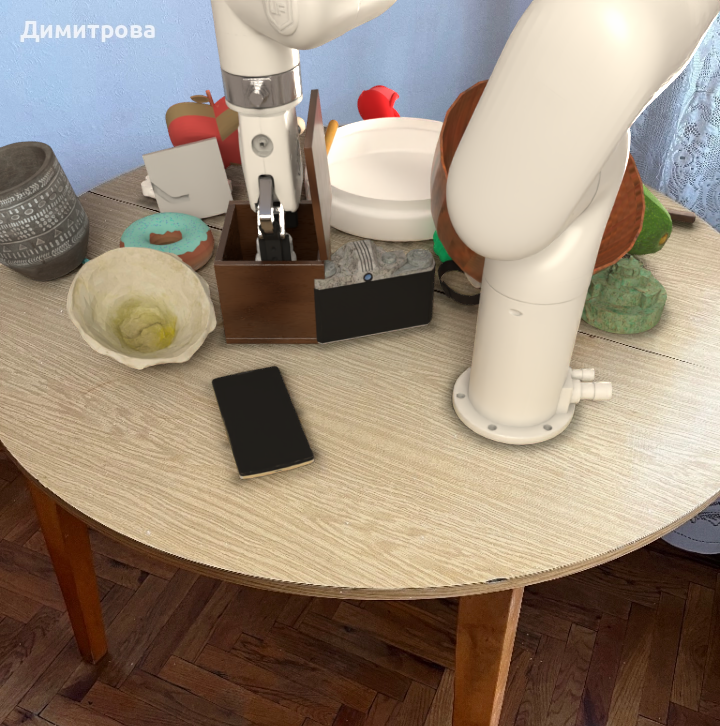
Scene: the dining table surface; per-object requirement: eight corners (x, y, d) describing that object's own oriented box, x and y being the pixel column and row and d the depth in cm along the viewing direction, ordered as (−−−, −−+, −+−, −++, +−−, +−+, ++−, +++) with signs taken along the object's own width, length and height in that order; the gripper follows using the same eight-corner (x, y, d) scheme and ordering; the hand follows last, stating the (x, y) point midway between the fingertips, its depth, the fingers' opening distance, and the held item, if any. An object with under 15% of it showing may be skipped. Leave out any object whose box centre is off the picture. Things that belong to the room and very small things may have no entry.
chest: (226, 344, 89) (213, 264, 81) (239, 277, 98) (229, 200, 90) (328, 344, 88) (324, 264, 81) (332, 277, 98) (328, 200, 90)
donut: (192, 225, 106) (187, 197, 103) (232, 265, 99) (228, 237, 96) (109, 252, 102) (101, 223, 99) (145, 295, 95) (137, 267, 92)
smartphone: (239, 476, 73) (210, 377, 83) (241, 484, 74) (211, 385, 83) (315, 458, 74) (277, 363, 84) (316, 466, 75) (278, 371, 85)
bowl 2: (360, 221, 89) (393, 154, 78) (475, 111, 99) (518, 39, 89) (522, 365, 90) (577, 318, 79) (620, 242, 100) (679, 186, 90)
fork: (341, 116, 113) (323, 180, 99) (342, 129, 114) (324, 194, 100) (324, 115, 113) (303, 179, 99) (325, 128, 114) (304, 193, 100)
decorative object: (189, 184, 115) (161, 129, 100) (183, 161, 115) (155, 102, 100) (278, 163, 115) (264, 104, 100) (273, 140, 115) (258, 78, 100)
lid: (303, 147, 72) (311, 147, 72) (310, 89, 81) (318, 88, 81) (320, 261, 81) (327, 260, 80) (325, 196, 90) (332, 196, 90)
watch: (495, 302, 93) (499, 275, 91) (463, 314, 92) (466, 287, 89) (458, 271, 98) (460, 245, 95) (427, 282, 96) (428, 256, 94)
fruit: (700, 197, 96) (671, 236, 91) (655, 256, 104) (626, 294, 99) (599, 131, 98) (564, 165, 93) (563, 194, 106) (530, 228, 101)
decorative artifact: (569, 284, 96) (581, 333, 89) (580, 232, 91) (593, 280, 84) (651, 285, 96) (669, 335, 89) (667, 234, 91) (687, 282, 84)
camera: (417, 292, 95) (421, 217, 87) (436, 324, 90) (442, 247, 83) (299, 313, 92) (293, 237, 85) (313, 347, 88) (308, 270, 80)
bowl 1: (113, 413, 81) (87, 335, 73) (70, 343, 89) (43, 266, 81) (242, 364, 86) (231, 287, 79) (191, 302, 94) (176, 226, 87)
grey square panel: (235, 226, 108) (233, 220, 111) (234, 139, 103) (232, 135, 106) (146, 224, 106) (147, 218, 109) (140, 134, 100) (141, 131, 103)
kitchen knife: (697, 211, 106) (696, 217, 104) (695, 218, 106) (693, 224, 105) (564, 190, 111) (561, 195, 109) (563, 197, 111) (560, 202, 110)
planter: (-7, 274, 100) (-67, 184, 90) (66, 222, 105) (17, 132, 95) (44, 302, 94) (-15, 209, 84) (120, 246, 98) (73, 152, 89)
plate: (267, 205, 110) (263, 167, 106) (374, 135, 124) (374, 100, 120) (431, 264, 99) (433, 225, 95) (526, 180, 114) (532, 143, 110)
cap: (359, 111, 129) (350, 131, 126) (363, 76, 124) (353, 96, 121) (405, 123, 129) (397, 143, 126) (411, 88, 124) (403, 108, 121)
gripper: (294, 120, 68) (309, 290, 81) (307, 50, 80) (318, 208, 93) (210, 121, 68) (238, 291, 81) (235, 52, 80) (256, 210, 93)
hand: (281, 246), depth 87 cm, fingers open, 8 cm apart
